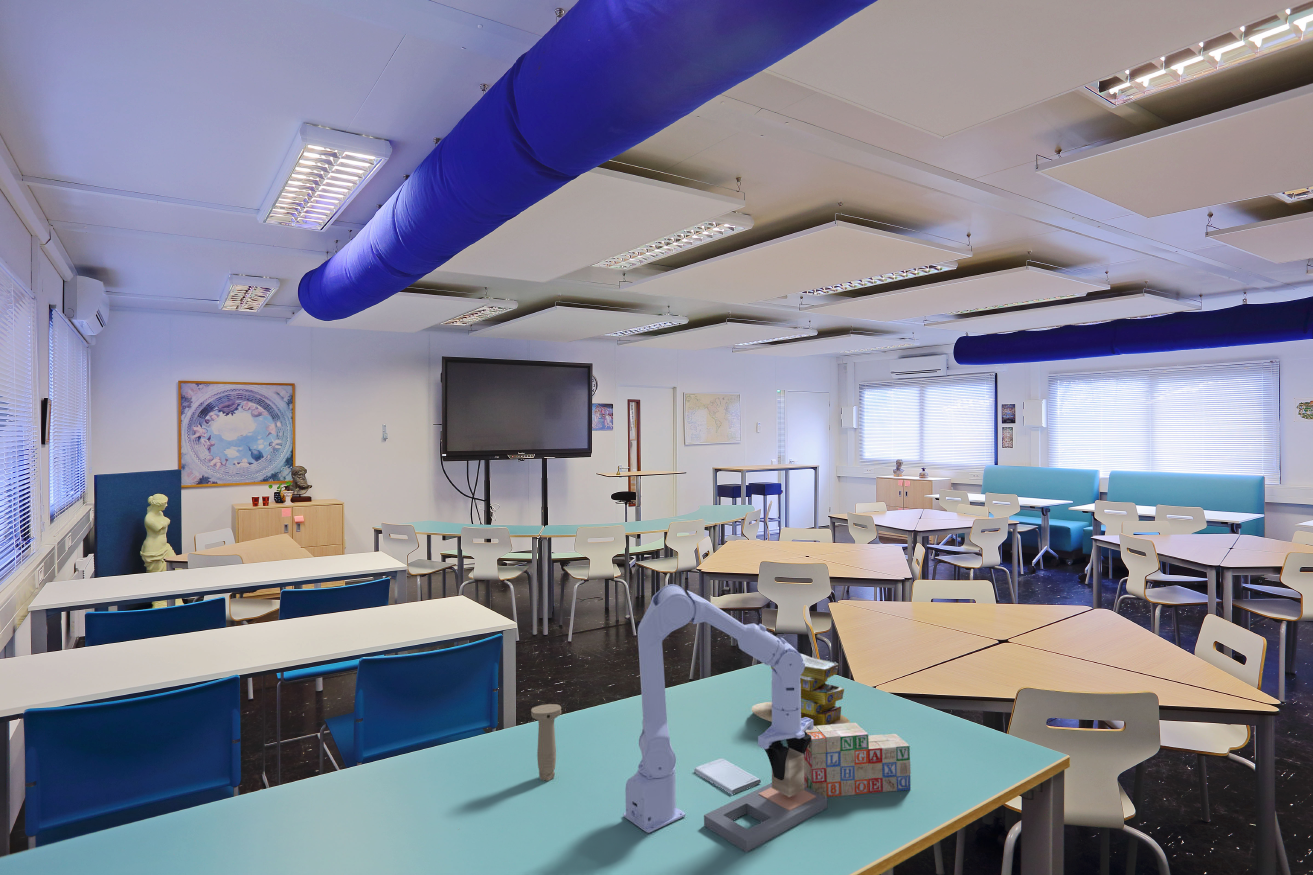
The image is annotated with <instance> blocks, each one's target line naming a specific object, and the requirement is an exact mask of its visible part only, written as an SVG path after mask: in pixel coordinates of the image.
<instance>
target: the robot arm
mask: <svg viewBox="0 0 1313 875" xmlns="http://www.w3.org/2000/svg"><path fill="white" fill-rule="evenodd" d="M687 593H688V594H687ZM690 622H691V623H692V624H693V625H696V624H697V625H698V624H702V623H704V622H705V623H707V624H709V625H711V626H712V627H714V628H716V629H718V630H719V631H722V632H724V633H725V634H726V635H729V636H730V637H731V638H734V639H735V640H737V644H738V649H740V650H741V651H743V652H744V653H746V654H748V655H749V656H751V657H752V658H754V659H756V660H757V661H759V662H761V663H762V664H764V665H765V666H770V668H771V667H773V668H774V669H773V668H772V669H771V702H772V722H771V725H770V726H769V727H768V728H767V729H766V730H764V732H763V733H762V734H760V735H758V736H757V746H758V747H760V748H762V749H763V750H764V751H765V754H766V755H767V757H768V760H769V763H770V767H771V772H772V771H773V775H774V777H775V778H777V779H779V780H783V779H784V775H785V762H786V757H787V754H788V751H789V748H791V749H793V750H796V751H798V752H800V753H803V754H804V755H805V752H806V749H807V747H808V745H809V743H810V742H811V735H809V734H807V733H806V730H807V729H808V730H812V729H813V720H812V719H810V718H807V717H804V718H801V684H800V675H801V674H802V673H803V671H804V668H805V663H803V658H802V657H801V654H802V653H800V652H799V651H798V650H796V648H795V647H793V646H792V644H790V643H789V642H788V641H787V640H785V638H783V637H782V636H780V637H777V636H775V635H774V634H772V633H771V632H770V631H769V632H768V630H767V629H768V628H767V627H766V626H765V625H763V624H762V623H759V624H756V623H754V622H753V623H748V624H744V623H742V622H740V621H739V620H737V619H736V618H734V617H733V616H731V615H729V613H727V612H725V611H724V610H722V609H721V608H719V607H718V606H716V605H715V604H714V603H711V602H710V601H708V600H707V599H705V598H704V597H702V596H699V595H698V594H696V593H694V592H692V591H690V590H686V591H685V590H684V588H682V587H681V586H679V585H677V584H667V585H664V586H663V587H661V589H659V590H658V591H657V592H656V593H655V594H654V595H652V597H651V601H650V603H649V605H648V608H647V609H646V611H645V613H644V614H643V617H642V619H641V620H640V622H639V625H637V643H638V657H639V659H638V660H639V662H638V663H639V674H640V691H641V705H642V721H641V723H642V729H641V732H640V734H639V738H638V746H639V749H640V752H641V760H640V762H639V763H638V766H637V767H638V769H637V771H636V772H635V773H634V775H632V776H631V777H629V778H628V779H627V780H626V782H625V812H624V813H623V817H624V818H625V819H627V820H628V821H629V822H631V823H632V824H634V825H636V826H637V827H638V828H640V829H641V830H643V831H644V832H645V833H648V834H650V833H652V832H654V831H656V830H658V829H660V828H662V827H665V826H667V825H668V824H671V823H673V822H676V821H679V819H680V820H681V818H684V817H685V816H686V813H685V812H684V811H683V810H681V809H679V808H678V807H677V806H676V805H677V804H676V803H677V802H676V801H677V799H676V798H677V797H676V764H677V763H676V762H677V759H676V758H677V757H676V753H675V752H674V750H673V746H672V744H671V737H670V733H669V726H668V717H667V716H668V714H667V701H666V698H667V696H666V686H665V685H666V684H665V667H664V652H663V651H664V650H663V641H664V640H665V639H666V638H667V637H669V635H670V634H671V633H672V632H674V631H676V630H678V629H680V628H682V627H684V626H686V625H688V623H690ZM784 740H785V741H786V745H787V747H786V746H785V745H784V743H782V741H784ZM788 747H789V748H788Z"/></svg>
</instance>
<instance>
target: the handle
mask: <svg viewBox="0 0 1313 875" xmlns="http://www.w3.org/2000/svg"><path fill="white" fill-rule="evenodd" d="M530 711H531V713H530V714H531V717H532V718H533V719H534V720H536V721H538V733H537V734H538V735H537V736H538V738H537V752H536V754H537V755H536V756H537V767H538V775H539V776H538V777H539V778H540V780H541V781H546V782H548V781H549V782H550V781H551V780H552V779H554V778H555V774H556V772H555V769H556V762H557V747H556V734H555V733H556V731H555V729H556V728H555V720H556V718H558V717H559V716H561V714H562V706H561V705H560V704H557V703H556V704H555V703H553V704H552V703H548V704H540V705H536V706H533V707H532V708H531V710H530Z"/></svg>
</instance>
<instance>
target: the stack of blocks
mask: <svg viewBox="0 0 1313 875" xmlns="http://www.w3.org/2000/svg"><path fill="white" fill-rule="evenodd" d="M806 733H807V734H809V735H811V742H810V743H809V745H808V747H807V749H806V752H805V755H804V787H806V788H808V789H810V790H813V791H815V792H817V793H819V794H821V795H823V796H825V797H827V798H828V797H829V798H831V797H840V796H841V797H842V796H843V797H845V796H854V795H861V794H873V793H887V792H889V793H890V792H899V791H901V792H902V791H910V790H911V783H912V782H911V773H912V772H911V750H910V749H911V748H910V745H909V744H908V743H907V742H906V741H905V740H904V739H902V737H900V736H899V735H897V734H896V733H889V734H888V733H887V734H873V735H872V734H871V735H869V733H868V732H867V731H866V730H864V728H862V727H860V726H859V724H858V723H857V722H850V723H844V724H831V725H820V726H813V729H812V730H808V729H807V730H806Z"/></svg>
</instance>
